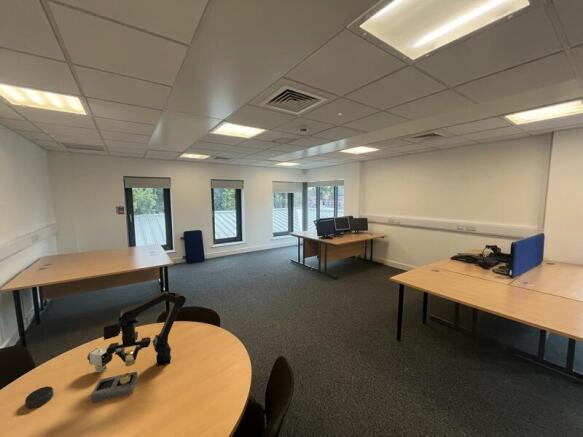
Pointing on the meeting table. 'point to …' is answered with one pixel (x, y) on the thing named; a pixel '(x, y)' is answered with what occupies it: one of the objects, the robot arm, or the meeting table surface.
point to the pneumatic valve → (99, 359)
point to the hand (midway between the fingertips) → (130, 360)
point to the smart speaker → (39, 397)
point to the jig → (113, 388)
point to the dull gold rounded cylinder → (125, 379)
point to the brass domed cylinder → (129, 358)
